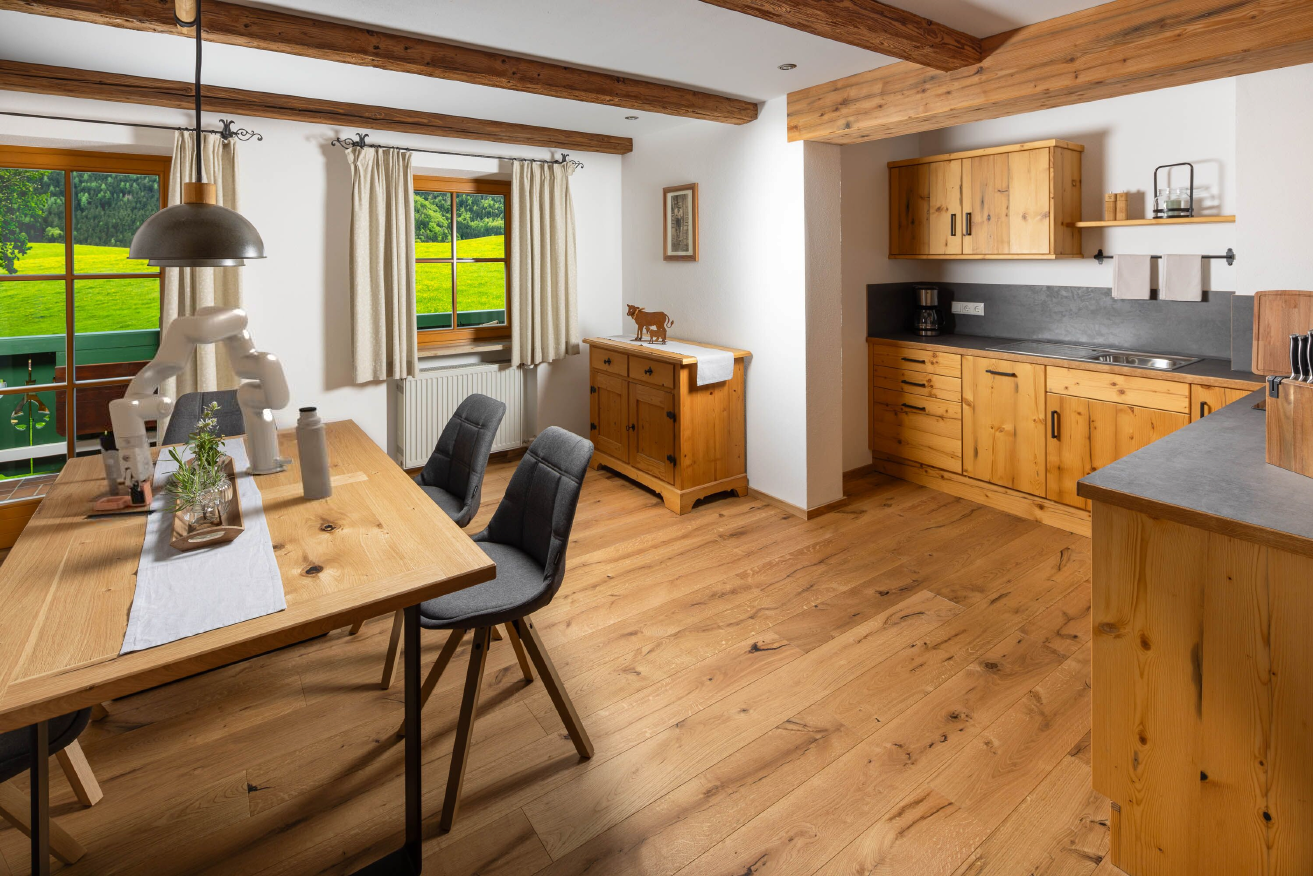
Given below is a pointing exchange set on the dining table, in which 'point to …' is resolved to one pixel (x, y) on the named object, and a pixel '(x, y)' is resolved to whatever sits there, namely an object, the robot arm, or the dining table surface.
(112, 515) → the slate mat
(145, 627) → the dining table surface
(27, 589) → the dining table surface
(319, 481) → the thermos bottle
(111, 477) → the stand
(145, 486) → the pink l-shaped piece
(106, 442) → the grey mug
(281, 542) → the dining table surface
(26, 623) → the dining table surface
